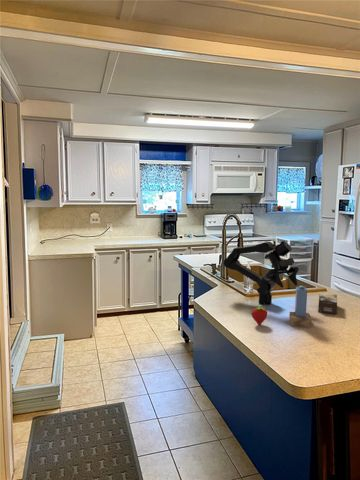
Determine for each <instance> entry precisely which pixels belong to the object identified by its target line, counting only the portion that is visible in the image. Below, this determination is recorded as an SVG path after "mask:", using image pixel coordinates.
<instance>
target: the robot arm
mask: <svg viewBox="0 0 360 480" xmlns="http://www.w3.org/2000/svg"><path fill="white" fill-rule="evenodd" d="M292 251H293V247H292V246H291V245H290V244H289V243H288V242H286V241H285V240H282V241H280V243H279V244H278V245H277V244H273V243H272V242H271V241H264V242H261V243H258V244H256V245H255V244H254V245H248V246H241V247H239V246H238V247H234V248H233V249H232V251H231V252H230V253H229V254H228V255H227V257H226V258H225V259H223V265H224V267H225V268H226V269H228V270H232V271H236V272H238V273H239V274H240V275H241V274H242V275H243V276H245V277H246V278H248V279H250V280H251V281H253V282H255V283H256V284H257V286H258V288H257V289H256V291H257V294H258V305H269V306H270V305H271V304H272V297H273V296H272V292H273V290H274V289H275V288H276V285H277V286H279V287H280V288H284V284H283V282H282V280H281V278H280V275H287V276H288V279H289V280H290V281H291V282H292V283H293V285H294V286H295V287H298V280H297V274H298V273H299V271H300V269H299V267H298V266H293V264H295V260H294V259H293V257H288V258H287V259H282V258H281V257H285V256H287V255H288V254H289V253H290V252H292ZM251 253H260V254H261V253H262V254H265V256H264V259H265V260H269V261H270V264H271V268H270V269H268V270H267V272H266V273H265V275H263V276H262V275H260V274H259V273H257V272H255V271H253V270H251V268H248V267H246V266H245V265H243V264H242V263H241V262H240V260H239V259H240V257H241V255H242V254H251ZM290 266H291V267H290Z"/></svg>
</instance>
